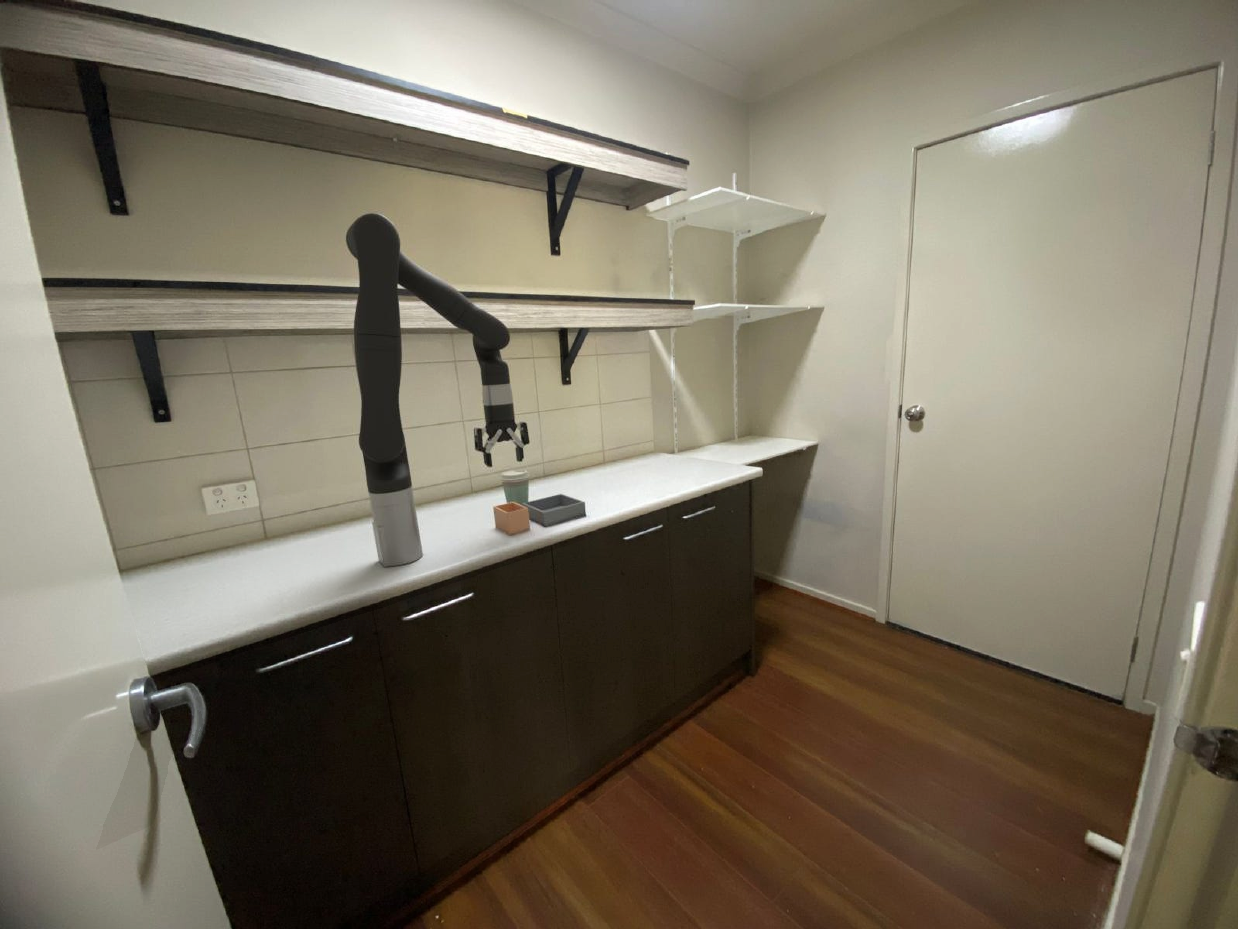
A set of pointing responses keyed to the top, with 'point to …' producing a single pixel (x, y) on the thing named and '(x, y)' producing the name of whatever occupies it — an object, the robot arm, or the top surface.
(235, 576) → the top surface
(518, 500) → the coffee cup
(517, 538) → the top surface
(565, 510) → the big crate
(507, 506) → the small crate
